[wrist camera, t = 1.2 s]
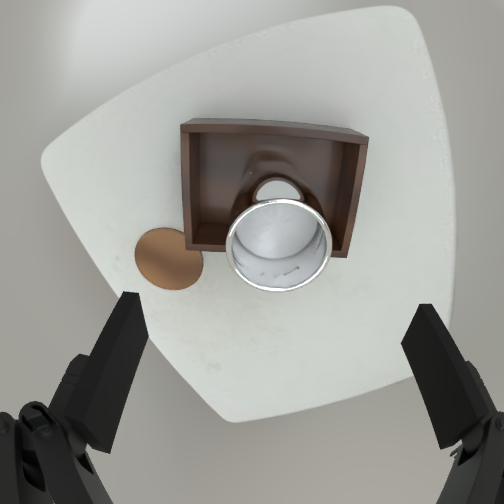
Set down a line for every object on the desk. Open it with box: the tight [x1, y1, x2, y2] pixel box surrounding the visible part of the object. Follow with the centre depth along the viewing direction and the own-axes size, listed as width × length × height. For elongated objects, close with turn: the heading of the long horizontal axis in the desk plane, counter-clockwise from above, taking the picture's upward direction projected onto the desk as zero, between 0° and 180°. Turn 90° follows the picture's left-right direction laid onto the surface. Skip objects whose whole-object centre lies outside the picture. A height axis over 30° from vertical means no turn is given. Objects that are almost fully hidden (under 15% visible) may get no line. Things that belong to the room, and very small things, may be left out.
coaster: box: [135, 228, 203, 290], centre depth 37 cm, size 9×9×1 cm
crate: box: [180, 118, 369, 258], centre depth 29 cm, size 13×17×5 cm
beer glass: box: [226, 152, 332, 292], centre depth 25 cm, size 7×7×15 cm
